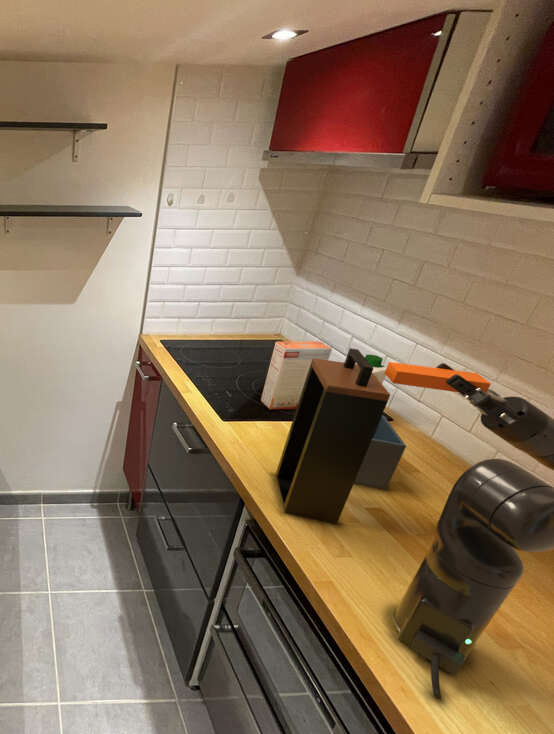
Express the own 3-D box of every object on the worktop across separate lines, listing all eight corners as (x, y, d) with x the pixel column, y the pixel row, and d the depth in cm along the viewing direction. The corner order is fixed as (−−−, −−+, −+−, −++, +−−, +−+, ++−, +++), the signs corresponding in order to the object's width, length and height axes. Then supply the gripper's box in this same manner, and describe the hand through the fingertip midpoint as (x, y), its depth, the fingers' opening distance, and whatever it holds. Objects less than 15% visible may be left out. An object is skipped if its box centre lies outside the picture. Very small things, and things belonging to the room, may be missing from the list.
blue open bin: (367, 456, 117) (384, 415, 111) (386, 489, 105) (406, 446, 100) (309, 445, 121) (323, 405, 115) (321, 476, 109) (337, 433, 104)
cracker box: (301, 400, 143) (320, 340, 134) (313, 410, 138) (334, 348, 129) (258, 400, 142) (275, 340, 134) (269, 410, 137) (286, 348, 128)
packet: (471, 385, 84) (477, 373, 83) (484, 396, 81) (491, 383, 80) (384, 373, 89) (388, 361, 87) (392, 383, 85) (397, 371, 84)
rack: (321, 485, 106) (373, 348, 91) (336, 524, 95) (398, 375, 80) (275, 475, 109) (317, 341, 94) (284, 512, 98) (334, 366, 83)
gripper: (520, 395, 87) (445, 343, 87) (575, 435, 74) (486, 375, 75) (481, 419, 90) (410, 370, 91) (527, 461, 78) (444, 404, 79)
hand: (445, 372), depth 83 cm, fingers closed on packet, 4 cm apart
